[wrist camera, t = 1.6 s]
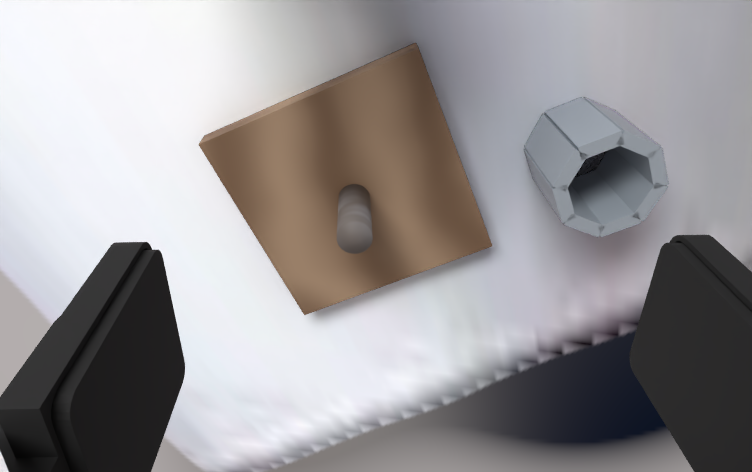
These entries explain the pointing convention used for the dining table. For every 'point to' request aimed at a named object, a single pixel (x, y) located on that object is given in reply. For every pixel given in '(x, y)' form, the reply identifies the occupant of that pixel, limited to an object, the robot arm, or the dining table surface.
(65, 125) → the dining table surface
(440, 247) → the roll stand
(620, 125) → the roll
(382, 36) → the dining table surface
